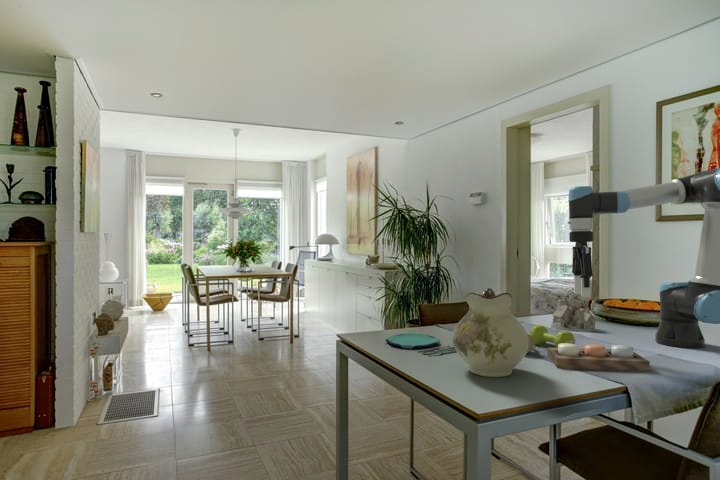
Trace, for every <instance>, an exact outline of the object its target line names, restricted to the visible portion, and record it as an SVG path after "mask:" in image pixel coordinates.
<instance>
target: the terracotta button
mask: <svg viewBox="0 0 720 480" xmlns="http://www.w3.org/2000/svg"><path fill="white" fill-rule="evenodd" d="M583 346H584V349H585V356H589V357H606V345H603V344H598V343H596V344H595V343H587V344H584V345H583Z"/></svg>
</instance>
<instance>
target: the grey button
mask: <svg viewBox="0 0 720 480" xmlns="http://www.w3.org/2000/svg"><path fill="white" fill-rule="evenodd" d="M610 349H611V353H612V356H613V357H618V358H633V352H634V347H633V346H631V345H630V346H629V345H625V344H613V345H611V347H610Z"/></svg>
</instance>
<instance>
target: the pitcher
mask: <svg viewBox="0 0 720 480" xmlns="http://www.w3.org/2000/svg"><path fill="white" fill-rule="evenodd" d="M465 298H466V299H465V300H466V303H467V304H468V305H469V309H468V311H467V313H466V314H465V315H464V316H463V317H461V319H460V320H459V321H458V322H457V324H456V325H455V328H454V330H453V332H452V344H453V346H454V347H455V349H454V350H456V352H455V353H456V354H457V355H458V356H459V358H460V359H461V360H462V361H463V362H464V363H465V364H466V365H467V366H468V368H469V372H471V373H472V374H475V375H477V376H481V377H486V378H502V377H503V378H504V377H507V376H510V375H512V374H513V370H514V368H515V367H517V366H518V365H519V363H520V362H521V361H523V359H524V358H525V356H526V354H528V353H527V351H528V347H529V337H528V331H527V330H526V329H525V327H524V326H523V324H522V323H521V322H520V321H519V320H518V319H517V318H516V317H515V315H513V314H512V312H511V309H510V306H511V304H512V302H513V301H512V298H513V295H512V294H511V293H509V292H502V293H499V294H495V291H494V290H493V289H492V288H491V287H487V288H485V289H484V290H483V292H481V294H479V293H476V292H469V293H467V294H466V296H465Z"/></svg>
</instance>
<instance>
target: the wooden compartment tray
mask: <svg viewBox="0 0 720 480" xmlns="http://www.w3.org/2000/svg"><path fill="white" fill-rule="evenodd" d="M546 349H547V353H546V354H547V357H548V359H549V360H550V361H551V362H552V363H553V365H554V366H555V367H556V368H557V369H579V370H602V371H603V370H604V371H625V370H651V369H650V362H651V361H650V360H648V359H646V358H644V357H643V356H641V355H640V354H638V353H636V352H635V351H633V358H618V357H613V356H612V353H611V348H610V349H609V348H608V349H606V357H589V356H585V348H579V356H560V355H559V354H558V348H556V347H547V348H546Z"/></svg>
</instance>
